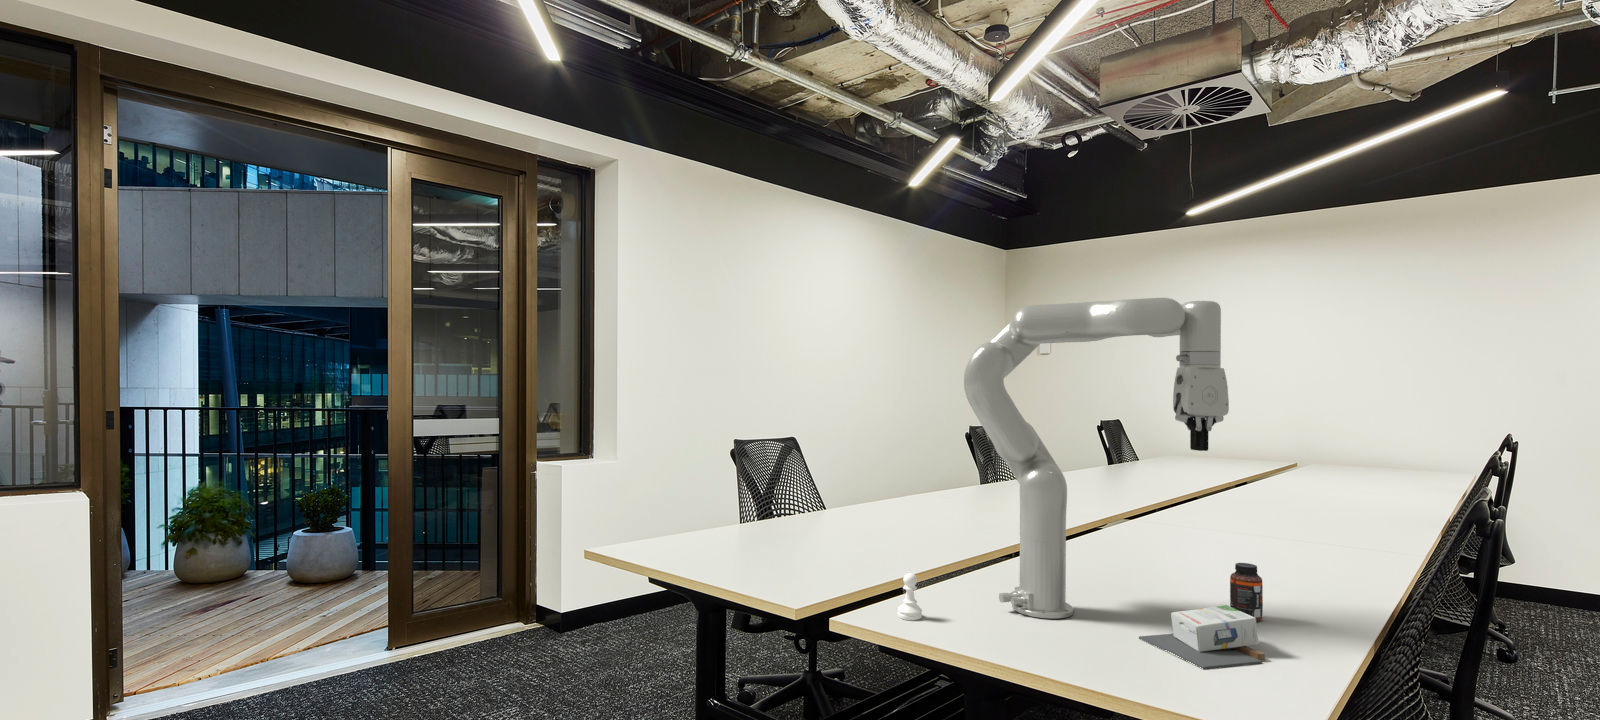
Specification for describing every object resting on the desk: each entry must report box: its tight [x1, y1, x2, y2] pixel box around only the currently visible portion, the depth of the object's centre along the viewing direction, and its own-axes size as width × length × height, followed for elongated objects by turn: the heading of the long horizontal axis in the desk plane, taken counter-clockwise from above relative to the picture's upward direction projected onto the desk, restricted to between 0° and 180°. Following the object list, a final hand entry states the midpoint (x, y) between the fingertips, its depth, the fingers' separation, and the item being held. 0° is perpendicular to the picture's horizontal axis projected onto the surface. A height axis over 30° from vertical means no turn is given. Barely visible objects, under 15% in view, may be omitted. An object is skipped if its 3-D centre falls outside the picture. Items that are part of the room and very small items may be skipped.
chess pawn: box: [897, 572, 923, 621], centre depth 157 cm, size 5×5×9 cm
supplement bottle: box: [1229, 562, 1264, 623], centre depth 160 cm, size 6×6×11 cm
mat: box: [1138, 633, 1263, 670], centre depth 140 cm, size 13×16×1 cm
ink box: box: [1170, 604, 1259, 652], centre depth 142 cm, size 9×5×12 cm
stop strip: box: [1232, 646, 1266, 662], centre depth 142 cm, size 2×14×1 cm, turn 16°
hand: (1199, 450), depth 155 cm, fingers closed
